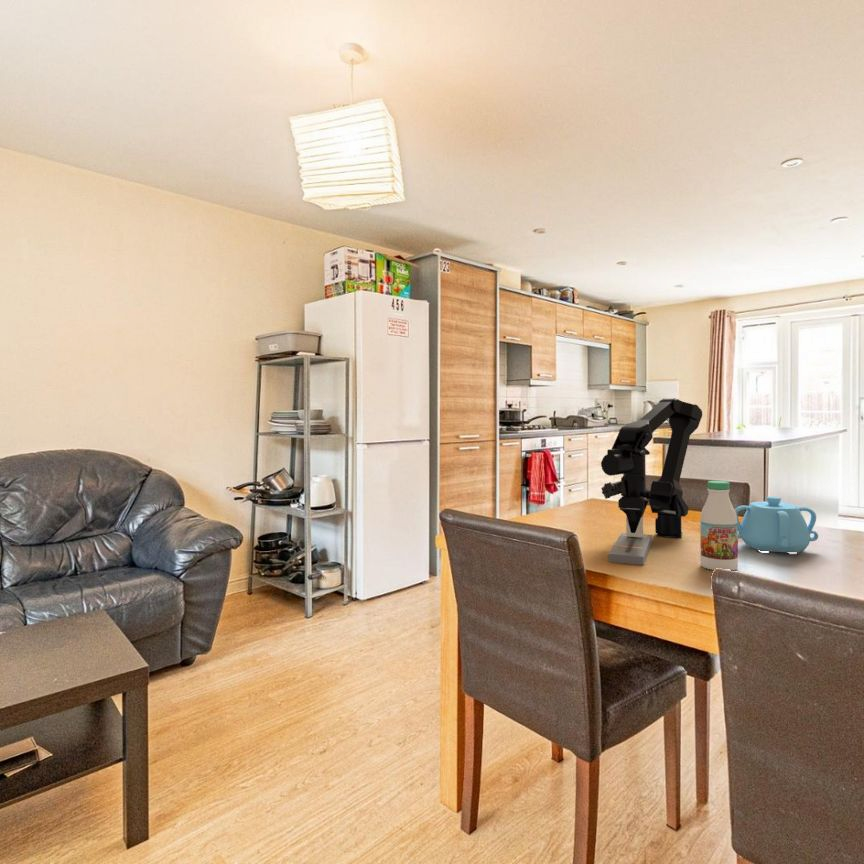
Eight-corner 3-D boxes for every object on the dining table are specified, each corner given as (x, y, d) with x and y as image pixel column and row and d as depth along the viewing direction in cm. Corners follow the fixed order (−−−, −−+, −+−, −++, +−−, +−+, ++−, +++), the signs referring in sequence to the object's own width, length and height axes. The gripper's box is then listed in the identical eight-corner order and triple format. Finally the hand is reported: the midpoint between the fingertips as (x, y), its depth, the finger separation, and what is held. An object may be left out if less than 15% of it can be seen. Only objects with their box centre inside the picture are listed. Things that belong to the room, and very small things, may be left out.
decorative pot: (827, 553, 138) (828, 499, 137) (781, 561, 132) (782, 504, 131) (767, 539, 153) (767, 490, 152) (723, 546, 147) (723, 495, 147)
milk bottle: (693, 563, 132) (693, 480, 131) (724, 562, 133) (724, 478, 132) (712, 573, 124) (712, 484, 123) (745, 571, 125) (745, 483, 124)
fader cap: (643, 535, 152) (643, 517, 152) (642, 537, 149) (641, 519, 149) (627, 534, 154) (627, 516, 154) (626, 536, 151) (626, 518, 151)
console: (651, 542, 153) (651, 534, 153) (643, 565, 132) (643, 556, 132) (621, 539, 157) (621, 532, 157) (608, 561, 135) (608, 553, 135)
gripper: (608, 467, 163) (609, 520, 163) (597, 475, 146) (598, 534, 147) (649, 468, 158) (650, 523, 159) (643, 476, 141) (643, 537, 142)
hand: (635, 529), depth 151 cm, fingers open, 9 cm apart
